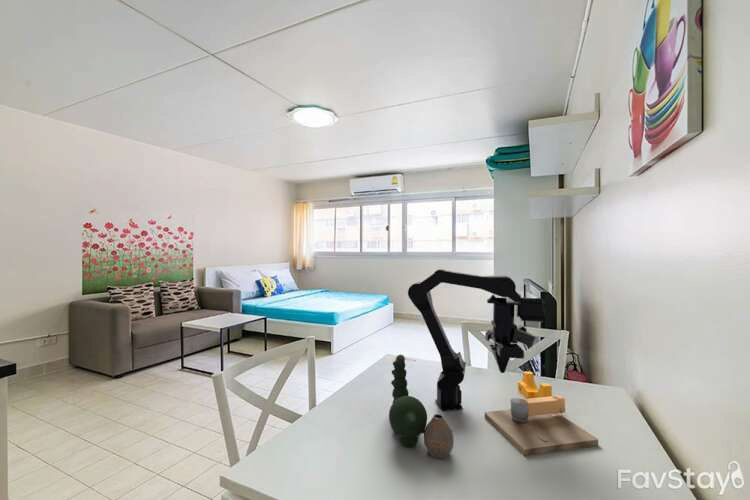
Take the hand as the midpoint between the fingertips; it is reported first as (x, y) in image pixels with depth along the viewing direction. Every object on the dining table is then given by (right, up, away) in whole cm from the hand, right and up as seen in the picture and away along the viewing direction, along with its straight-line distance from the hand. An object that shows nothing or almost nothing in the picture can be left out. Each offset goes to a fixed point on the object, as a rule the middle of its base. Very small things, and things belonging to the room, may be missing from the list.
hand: (502, 372), depth 98 cm
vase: (-22, -12, -19) cm, 32 cm away
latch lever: (+8, -9, -6) cm, 13 cm away
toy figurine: (-29, -12, -9) cm, 33 cm away
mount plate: (+6, -12, -10) cm, 16 cm away
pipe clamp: (+14, -12, +9) cm, 21 cm away
